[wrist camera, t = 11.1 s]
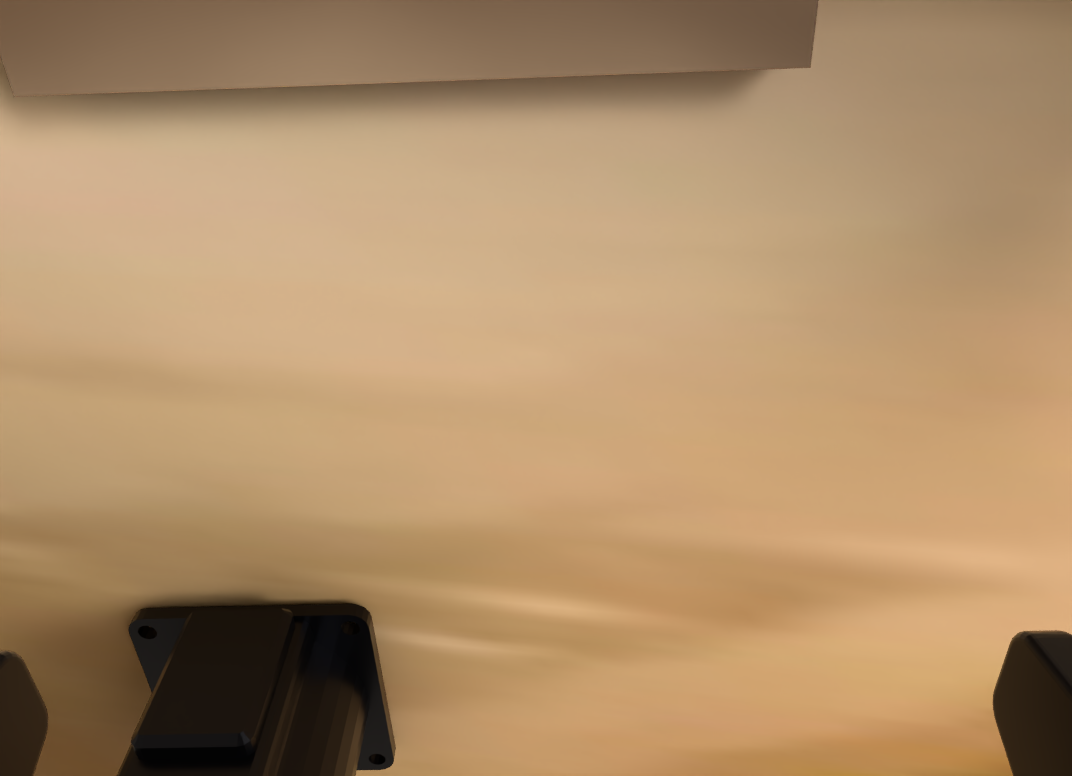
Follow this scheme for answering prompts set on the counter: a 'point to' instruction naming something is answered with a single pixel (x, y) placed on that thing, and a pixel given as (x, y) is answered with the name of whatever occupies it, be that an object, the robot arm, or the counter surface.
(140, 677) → the counter surface
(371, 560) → the counter surface
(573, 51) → the walnut board
